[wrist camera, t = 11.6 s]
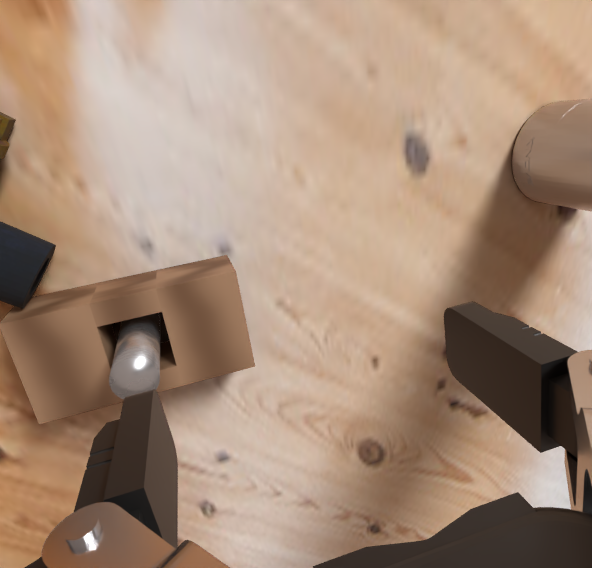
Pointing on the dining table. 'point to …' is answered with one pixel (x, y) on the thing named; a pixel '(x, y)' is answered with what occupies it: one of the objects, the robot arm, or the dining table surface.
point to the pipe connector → (19, 249)
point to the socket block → (102, 342)
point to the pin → (136, 356)
